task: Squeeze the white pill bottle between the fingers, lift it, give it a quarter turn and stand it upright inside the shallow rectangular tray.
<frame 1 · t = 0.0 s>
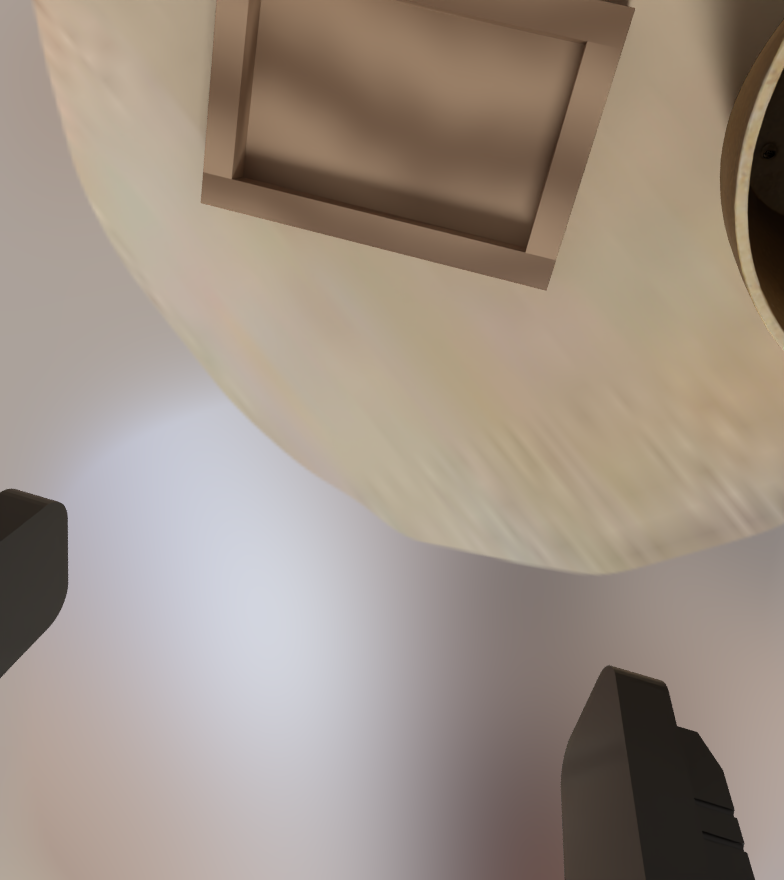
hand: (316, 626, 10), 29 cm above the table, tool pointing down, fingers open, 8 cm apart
shallow rectangular tray: (404, 116, 34), on the table
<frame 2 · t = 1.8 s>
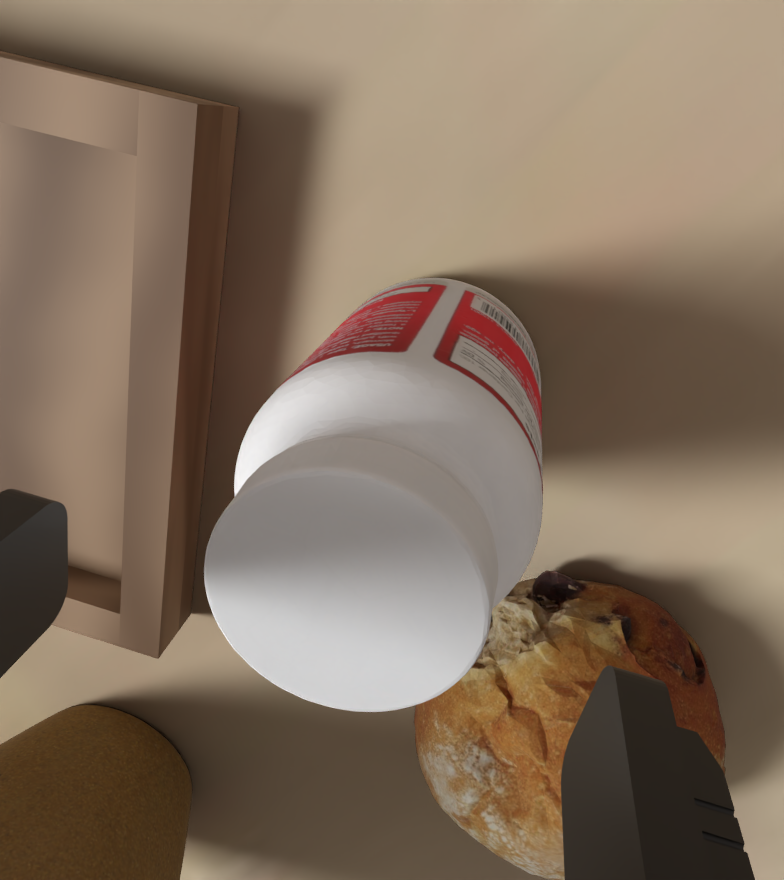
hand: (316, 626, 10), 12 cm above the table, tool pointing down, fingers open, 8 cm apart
shallow rectangular tray: (43, 358, 23), on the table
bread roll: (561, 674, 25), on the table
pill bottle: (438, 374, 21), on the table
plant pot: (115, 759, 31), on the table
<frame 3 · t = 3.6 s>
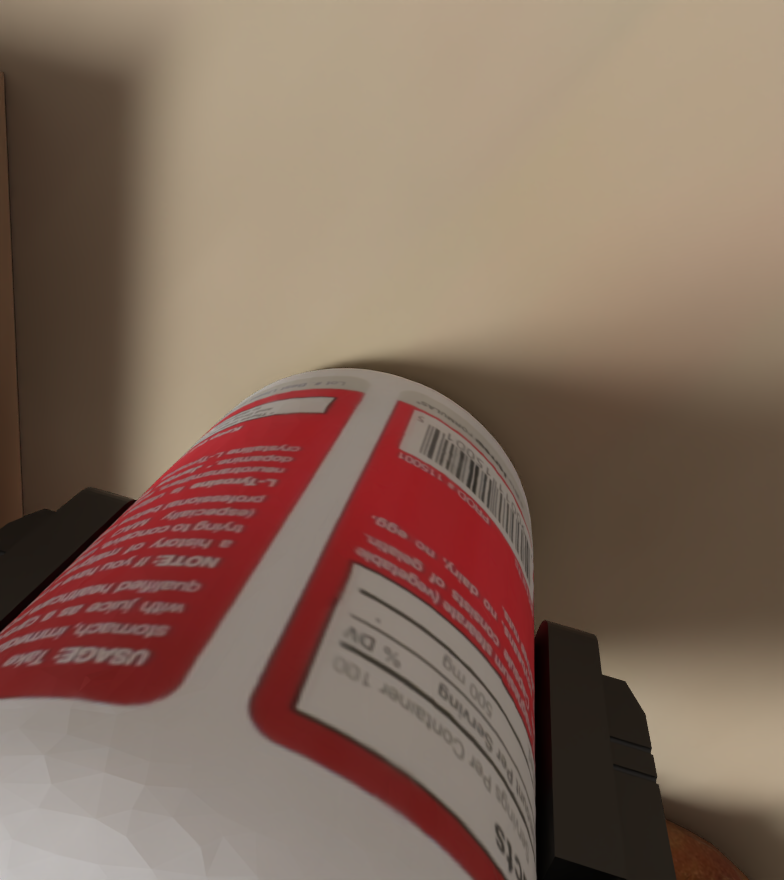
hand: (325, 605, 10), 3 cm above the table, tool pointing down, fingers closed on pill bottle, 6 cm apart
pill bottle: (367, 510, 13), on the table, touching gripper
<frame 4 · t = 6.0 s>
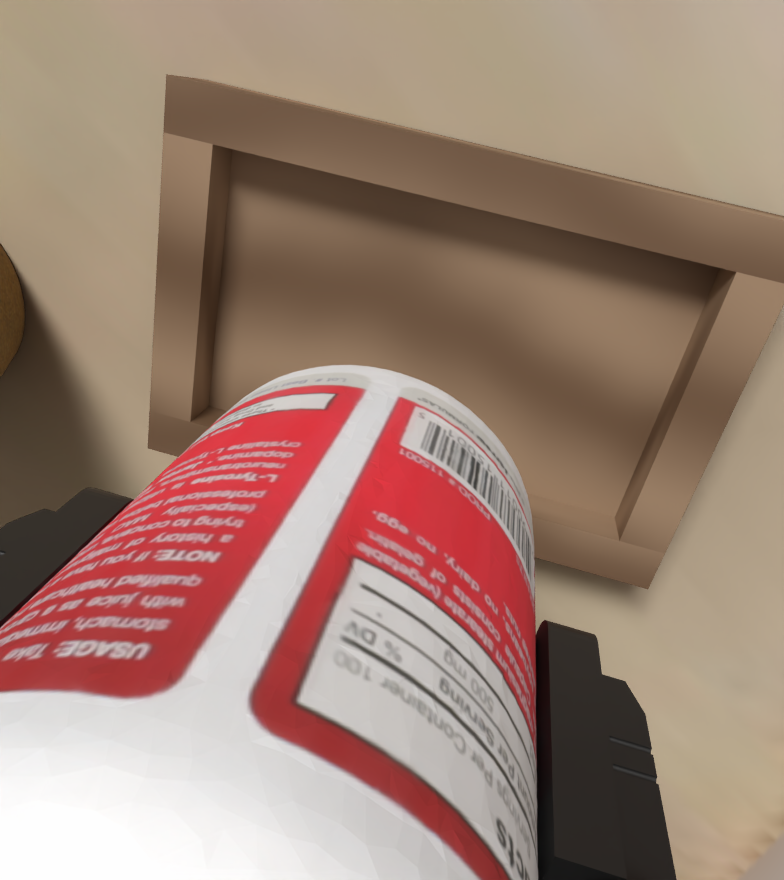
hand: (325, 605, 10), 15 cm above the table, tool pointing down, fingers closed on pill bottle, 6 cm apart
shallow rectangular tray: (439, 333, 23), on the table
pill bottle: (368, 508, 13), point 12 cm above the table, touching gripper
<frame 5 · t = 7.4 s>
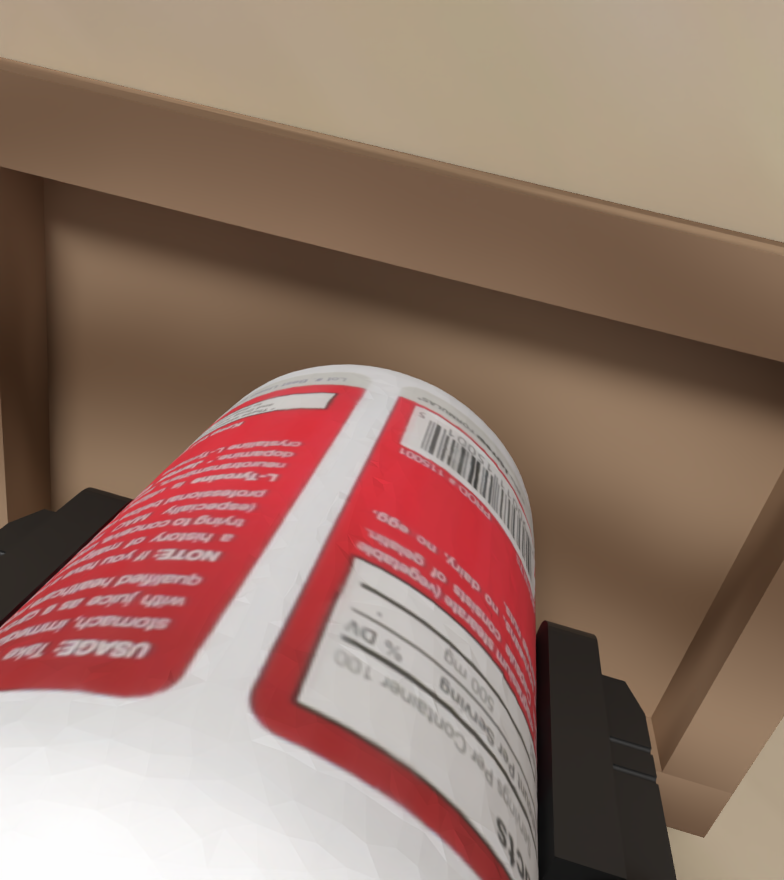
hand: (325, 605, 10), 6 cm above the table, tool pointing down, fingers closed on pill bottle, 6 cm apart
shallow rectangular tray: (385, 445, 15), on the table
pill bottle: (368, 507, 13), point 3 cm above the table, touching gripper
when the fingers open (5 cm above the table, at t = 8.6 s): pill bottle stays where it is, resting on shallow rectangular tray.
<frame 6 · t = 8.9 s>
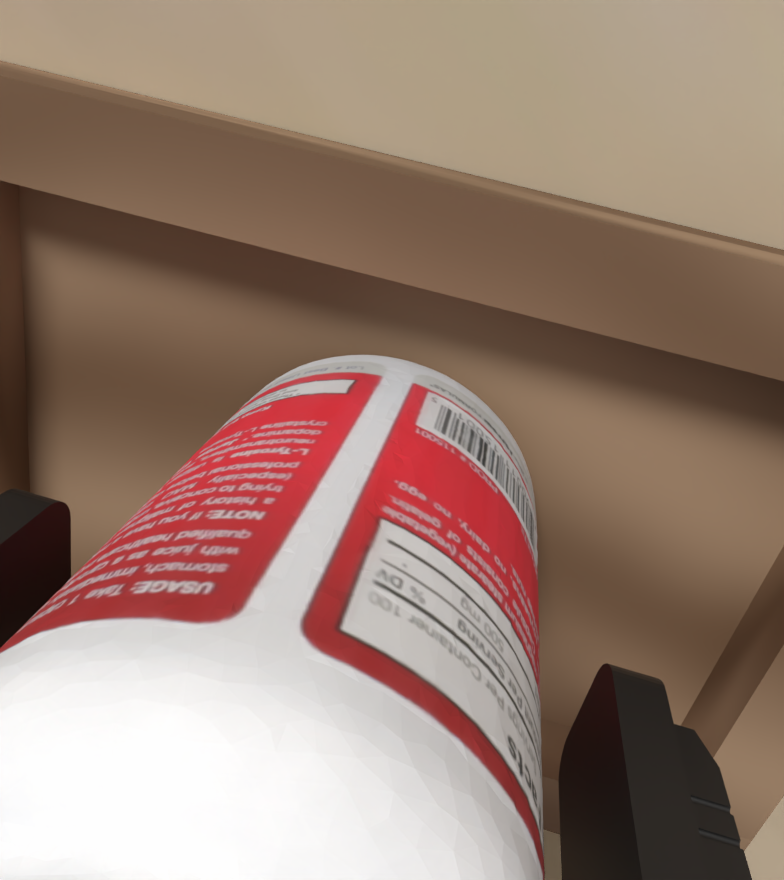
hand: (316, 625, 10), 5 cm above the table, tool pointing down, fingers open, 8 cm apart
shallow rectangular tray: (384, 467, 14), on the table
pill bottle: (381, 489, 14), point 1 cm above the table, touching shallow rectangular tray
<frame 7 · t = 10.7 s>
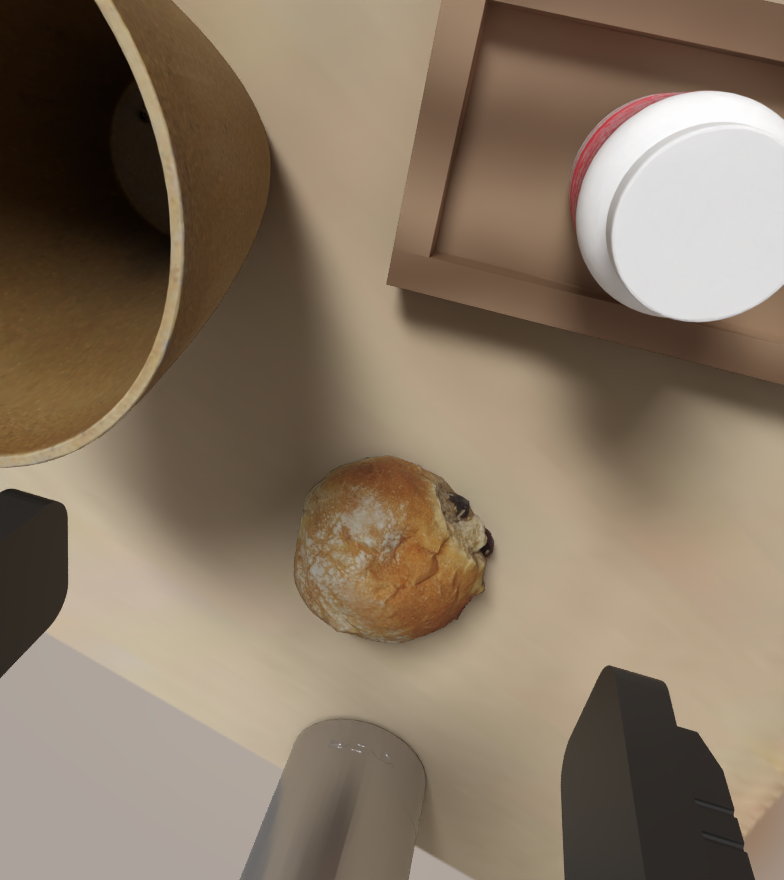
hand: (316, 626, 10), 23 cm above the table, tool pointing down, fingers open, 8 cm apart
shallow rectangular tray: (646, 178, 27), on the table
bread roll: (398, 528, 37), on the table
pill bottle: (650, 182, 26), point 1 cm above the table, touching shallow rectangular tray
plant pot: (196, 150, 30), on the table
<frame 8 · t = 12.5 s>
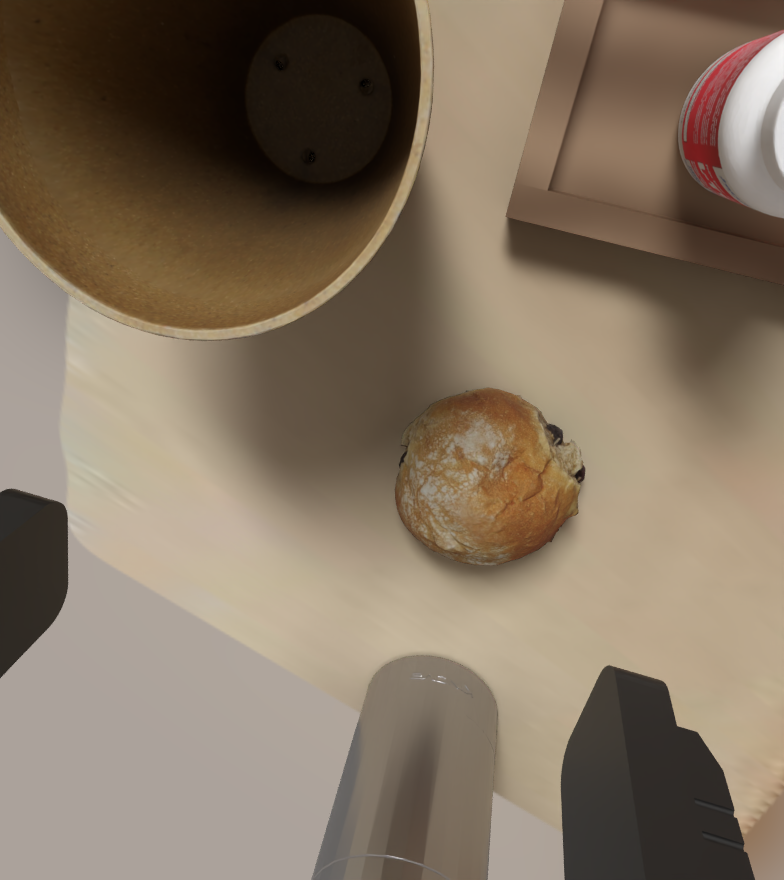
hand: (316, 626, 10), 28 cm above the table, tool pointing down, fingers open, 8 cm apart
shallow rectangular tray: (743, 120, 30), on the table
bread roll: (489, 461, 40), on the table
pill bottle: (750, 122, 30), point 1 cm above the table, touching shallow rectangular tray
plant pot: (323, 97, 33), on the table
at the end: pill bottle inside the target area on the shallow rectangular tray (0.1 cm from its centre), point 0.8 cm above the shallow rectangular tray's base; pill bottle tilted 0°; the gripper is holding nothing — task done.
